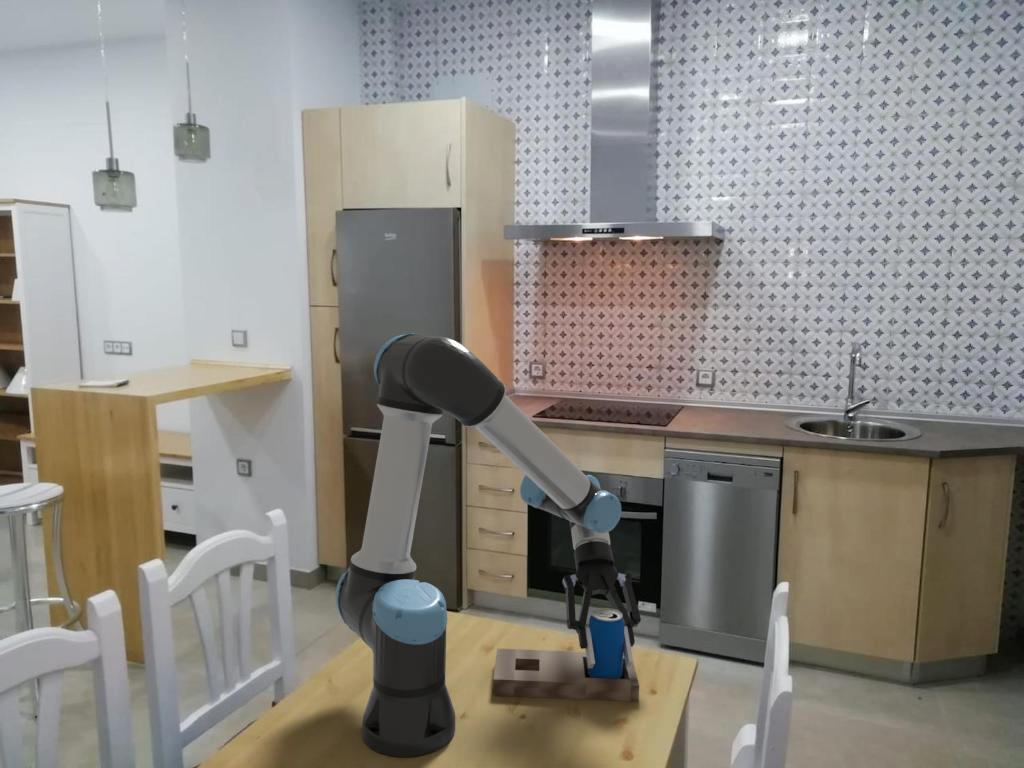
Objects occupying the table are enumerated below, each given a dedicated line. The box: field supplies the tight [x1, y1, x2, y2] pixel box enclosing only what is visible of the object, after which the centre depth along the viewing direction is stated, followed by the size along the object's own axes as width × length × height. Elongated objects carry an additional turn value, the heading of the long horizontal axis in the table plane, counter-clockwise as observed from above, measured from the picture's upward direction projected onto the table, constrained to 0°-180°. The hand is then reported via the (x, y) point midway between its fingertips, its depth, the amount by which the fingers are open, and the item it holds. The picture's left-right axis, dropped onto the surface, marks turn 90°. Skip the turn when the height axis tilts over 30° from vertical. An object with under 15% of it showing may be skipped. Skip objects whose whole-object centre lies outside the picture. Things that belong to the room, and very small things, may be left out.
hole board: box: [492, 648, 640, 702], centre depth 139 cm, size 26×12×3 cm, turn 88°
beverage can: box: [587, 607, 625, 679], centre depth 138 cm, size 6×6×12 cm
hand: (610, 664), depth 134 cm, fingers closed on beverage can, 6 cm apart
